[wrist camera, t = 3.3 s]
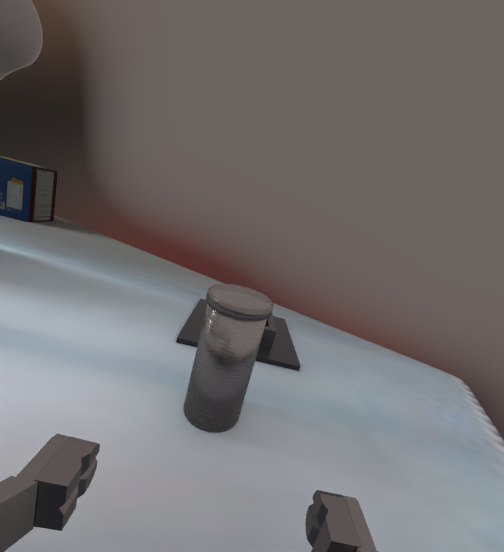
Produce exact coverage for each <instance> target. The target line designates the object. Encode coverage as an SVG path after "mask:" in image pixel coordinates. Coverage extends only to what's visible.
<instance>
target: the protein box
mask: <svg viewBox="0 0 504 552" xmlns="http://www.w3.org/2000/svg"><path fill="white" fill-rule="evenodd" d="M57 172H58V171H57V170H53V169H49V168H45V167H41V166H37V165H34V164H30V163H26V162H22V161H19V160H15V159H11V158H7V157H4V156H0V215H1V216H6V217H10V218H14V219H18V220H22V221H26V222H37V221H53V219H54V207H55V195H56V184H57Z"/></svg>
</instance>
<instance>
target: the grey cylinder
mask: <svg viewBox="0 0 504 552" xmlns="http://www.w3.org/2000/svg"><path fill="white" fill-rule="evenodd" d="M206 302H207V307H206V312H205V316H204V320H203V325H202V329H201V333H200V338H199V342H198V346H197V351H196V355H195V359H194V364H193V368H192V372H191V376H190V381H189V385H188V389H187V394H186V398H185V402H184V408H183V409H184V414H185V416H186V418H187V419H188V421H189V422H190V423H191V424H192V425H194V426H195V427H197V428H199V429H201V430H204V431H208V432H223V431H226V430H228V429H230V428H232V427H233V426H234V425H235V424H236V423H237V421H238V419H239V415H240V412H241V408H242V405H243V401H244V398H245V394H246V391H247V387H248V384H249V380H250V377H251V373H252V370H253V366H254V363H255V359H256V356H257V352H258V349H259V345H260V342H261V338H262V335H263V331H264V328H265V324H266V321H267V319H268V318H269V317H270V316H271V313H272V309H273V303H272V302H271V300H270V299H269V298H268V297H267V296H265V295H263V294H262V293H260V292H258V291H255V290H252V289H249V288H246V287H242V286H238V285H231V284H216V285H213V286H211V287H210V288H209V289H208V292H207V296H206Z"/></svg>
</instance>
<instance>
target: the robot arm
mask: <svg viewBox="0 0 504 552" xmlns="http://www.w3.org/2000/svg"><path fill="white" fill-rule="evenodd" d="M42 41H43V34H42V27H41V23H40V19H39V16H38V14H37V11H36V9H35V7H34V5H33V3H32V1H31V0H0V80H1V79H2V78H3V77H5V76H6V75H8V74H9V73H11V72H13V71H15V70H18V69H20V68H23V67H26V66H29V65H31V64H32V63H33V62H34V61H35V60H36V59H37V57H38V56H39V53H40V51H41V48H42ZM99 448H100V444H98V443H94V442H90V441H86V440H82V439H78V438H74V437H69V436H65V435H61V434H56V435H55V436H53V437H52V438H51V439H50V440H49V441H48V442H47V443H46V445H45V446H44V447H43V448H42V449H41V450H40V451H39V452H38V453H37V454H36V456H35V457H34V458H33V459H32V460H31V461H30V462H29V463H28V464H27V465H26V467H25V468H24V469H23V470H22V471H21V472H20V473H19V474H18V475H17V476H16V477H13V476H11V477H9V478H7V479H5V480H3V481H1V482H0V552H4V551H5V550H7V549H8V548H9V547H10V546H12V545H13V544H14V543H15V542H17V541H18V540H19V539H21V538H22V537H23V536H24V535H26V534H27V533H28V532H30V531H31V530H32V529H33V527H41V528H47V529H53V530H59V531H62V529H63V528H64V526H65V525H66V523H67V521H68V520H69V518H70V516H71V515H72V513H73V512H74V510H75V508H76V503H77V498H79V497H80V496H82V495H83V494H84V493H85V492H86V490H87V488H88V487H89V485H90V483H91V481H92V479H93V476H94V474H95V471H96V468H97V460H96V458H95V457H96V456H97V454H98V453H99ZM313 502H314V503H313V504H312V505H310V506H309V508H308V511H307V513H306V535H307V540H308V542H309V543H310V545H311V546H312V548H313V549H312V551H311V552H378V551H376V548H375V545H374V543H373V540H372V537H371V535H370V532H369V529H368V526H367V524H366V521H365V518H364V516H363V513H362V510H361V508H360V505H359V502H358V501H357V499H356V498H352V497H347V496H342V495H339V494H334V493H329V492H324V491H319V490H317V491H315V493H314V495H313Z"/></svg>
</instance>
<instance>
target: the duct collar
mask: <svg viewBox="0 0 504 552" xmlns="http://www.w3.org/2000/svg"><path fill="white" fill-rule="evenodd" d="M206 307H207V302H206V300H204V299H200V300H199V302H198V304H197V305H196V307H195V309H194V310H193V312H192V314H191V315H190V317H189V319H188V320H187V322H186V324H185V325H184V327H183V329H182V330H181V332H180V334H179V335H178V337H177V340H176V342H179V343H183V344H187V345H191V346H196V347H197V346H198V342H199V338H200V333H201V329H202V325H203V320H204V316H205V312H206ZM255 360H256V361H260V362H264V363H269V364H273V365H277V366H281V367H286V368H290V369H294V370H299V369H300V364H299V361H298V358H297V355H296V352H295V349H294V346H293V343H292V340H291V337H290V334H289V331H288V328H287V325H286V322H285V319H282V318H278V317H274V316H273V314H272V313H271V316H270V317H269V318H268V319H267V321H266V324H265V328H264V331H263V335H262V338H261V342H260V345H259V349H258V352H257V356H256V359H255Z"/></svg>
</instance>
